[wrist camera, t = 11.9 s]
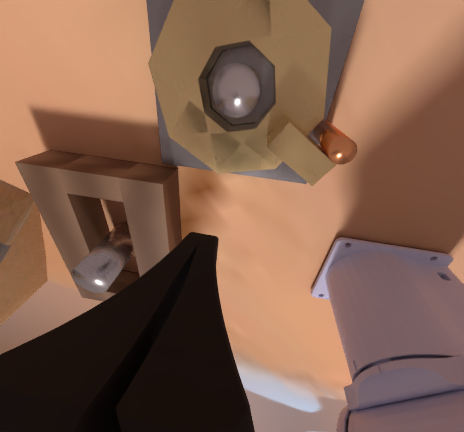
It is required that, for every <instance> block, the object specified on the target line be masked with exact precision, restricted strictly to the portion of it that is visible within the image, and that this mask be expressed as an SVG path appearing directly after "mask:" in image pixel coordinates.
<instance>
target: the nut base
mask: <svg viewBox="0 0 464 432" xmlns="http://www.w3.org/2000/svg"><path fill="white" fill-rule="evenodd" d="M173 1H174V0H147V11H148V21H149V32H150V42H151V53H153V51H154V48H155V46H156V43H157V41H158V38H159V36H160V33H161V31H162V28H163V26H164V23H165V21H166V18H167V16H168V13H169V11H170V8H171V6H172V3H173ZM308 2H309V3H310V4H311V5H312V6H313V7H314V8H315V10H316V11H317V12H318V13H319V14H320V15H321V16H322V18H323V19H324V20H325V21H326V22H327V23H328V24H329V26H330V27H331V40H330V51H329V63H328V75H327V87H326V99H325V110H324V119H323V120H322V121H321V122H320V123H319V124H318V125H317V126H316V127H315V128H314V129H313V130H312V131H311V132H310V133H309V134H308V136H309V137H310V138H311V139H313V140H314V141H315V142H316V143H317V144H319V145H320V146H321V147H322V149H323V150H324V151H325V153H326V154H327V155H328V157H329V158H330V159H331V161H332V162H333V163H335V164H346V163H348V162H350V161H351V160H352V159H353V158H354V157H355V155H356V153H357V145H356V143H355V142H354V141H353V140H351V139H350V138H349V137H347V136H346V135H345V134H344V133H342V132H341V131H340V130H338V129H337V128H336V127H335V126H333V125H332V124H331V123H329V122H328V121H327V120H326V119H327V116H328V113H329V110H330V107H331V104H332V100H333V97H334V94H335V91H336V88H337V85H338V81H339V78H340V75H341V72H342V69H343V66H344V63H345V59H346V56H347V53H348V50H349V47H350V44H351V41H352V37H353V34H354V31H355V28H356V25H357V22H358V18H359V15H360V12H361V9H362V6H363V3H364V0H308ZM206 81H207V87H208V93H209V99H210V105H211V109H212V110H213V111H214V112H216V113H217V114H218V115H219V116H220V117H221V118H223V119H224V120H225V121H226V122H227V123H229V124H230V125H231V126H237V125H245V124H253V123H257V122H258V121H259V120H260V118H261V117H262V116H263V115H264V113H265V112H266V111H267V109H268V108H269V107H270V106H271V104H272V103H273V102H274V101H275V83H274V66H273V65H272V64H271V63H270V62H269V61H268V60H267V59H266V58H265V57H264V56H263V55H262V54H261V53H260V52H258V51H257V50H256V49H255V48H254V47H253V46H252V45H247V46H241V47H236V48H231V49H226V50H222V51H221V53H220V54H219V56H218V58H217V60H216V62H215V63H214V65H213V67H212V69H211V70H210V72H209V74H208V76H207V78H206ZM155 95H156V105H157V116H158V126H159V137H160V147H161V158H162V163H164V164H171V165H178V166H185V167H192V168H198V169H205V170H212V169H211V168H210V167H208V166H207V165H206V164H205V163H203V162H202V161H201V160H199V159H198V158H197V157H195V156H194V155H193V154H191V153H190V152H189V151H187V150H186V149H185V148H183V147H182V146H181V145H179V144H178V143H177V142H175V141H174V140H173V139H171V138H170V137H169V134H168V131H167V127H166V124H165V120H164V117H163V113H162V110H161V106H160V103H159V99H158V96H157V92H156V89H155ZM212 171H214V170H212ZM231 173H233V174H240V175H247V176H254V177H261V178H268V179H275V180H282V181H289V182H296V183H303V184H306V182H307V181H306V180H304V179H303V178H302V177H301V176H300V175H299V174H297V173H296V172H295V171H294V170H293V169H291V168H290V167H289V166H288V165H287V164H286V163H284V162H283V161H282V162H281V164H280V165H279V166H278V167H277V168H276V169H268V170H256V171H243V172H231Z"/></svg>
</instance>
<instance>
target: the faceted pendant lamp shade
mask: <svg viewBox="0 0 464 432" xmlns="http://www.w3.org/2000/svg"><path fill="white" fill-rule="evenodd" d="M330 40H331V27H330V26H329V24H328V23H327V22H326V21H325V20H324V19H323V18H322V16H321V15H320V14H319V13H318V12H317V11H316V10H315V8H314V7H313V6H312V5H311V4H310V3H309V2H308V0H174V1H173V3H172V6H171V8H170V11H169V13H168V16H167V18H166V21H165V23H164V26H163V28H162V31H161V33H160V36H159V38H158V41H157V43H156V46H155V48H154V51H153V53H152V56H151V58H150V61H149V63H148V64H149V68H150V71H151V75H152V78H153V82H154V85H155V89H156V92H157V96H158V99H159V103H160V106H161V110H162V113H163V117H164V120H165V124H166V127H167V131H168V134H169V137H170V138H171V139H173V140H174V141H175V142H177V143H178V144H179V145H181V146H182V147H183V148H185V149H186V150H187V151H189V152H190V153H191V154H193V155H194V156H195V157H197V158H198V159H199V160H201V161H202V162H203V163H205V164H206V165H207V166H208V167H210V168H211V169H212V170H214V171H215V172H216V173H218V174H219V173H231V172H243V171H256V170H268V169H276V168H277V167H278V166H279V165H280V164H281V162H282V161H283V162H284V163H286V164H287V165H288V166H289V167H290V168H291V169H293V170H294V171H295V172H296V173H297V174H299V175H300V176H301V177H302V178H303V179H304V180H306V181H307V182H308V183H309V184H310V185H311V186H313V185H314V184H315V183H316V182H317V181H318V180H320V179H321V178H322V177H323V176H324V175H325V174H326V173H328V172H329V171H330V170H331V169H332V168H333V167H334V166H336V165H335V163H333V162H332V161H331V159H330V158H329V157H328V155H327V154H326V153H325V151H324V150H323V149H322V148H321V147H320V146H319V145H318V144H317V143H316V142H315V141H314V140H313V139H311V138H310V137H309V136H308V134H309V133H310V132H311V131H312V130H313V129H314V128H315V127H316V126H317V125H318V124H319V123H320V122H321V121H322V120H323V119H324V110H325V99H326V87H327V75H328V63H329V51H330ZM247 45H252V46H253V47H254V48H255V49H256V50H257V51H258V52H260V53H261V54H262V55H263V56H264V57H265V58H266V59H267V60H268V61H269V62H270V63H271V64H272V65H273V66H274V83H275V101H274V102H273V103H272V104H271V106H270V107H269V108H268V109H267V111H266V112H265V113H264V115H263V116H262V117H261V118H260V120H259V121H258V122H257V123H253V124H245V125H237V126H231V125H230V124H229V123H227V122H226V121H225V120H224V119H223V118H221V117H220V116H219V115H218V114H217V113H216V112H214V111H213V110H212V109H211V105H210V99H209V93H208V87H207V81H206V78H207V76H208V74H209V72H210V70H211V69H212V67H213V65H214V63H215V62H216V60H217V58H218V56H219V54H220V53H221V51H222V50H226V49H231V48H236V47H241V46H247Z"/></svg>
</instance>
